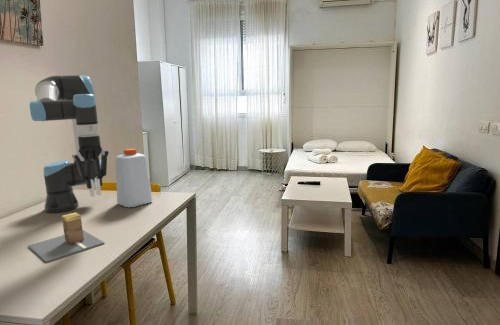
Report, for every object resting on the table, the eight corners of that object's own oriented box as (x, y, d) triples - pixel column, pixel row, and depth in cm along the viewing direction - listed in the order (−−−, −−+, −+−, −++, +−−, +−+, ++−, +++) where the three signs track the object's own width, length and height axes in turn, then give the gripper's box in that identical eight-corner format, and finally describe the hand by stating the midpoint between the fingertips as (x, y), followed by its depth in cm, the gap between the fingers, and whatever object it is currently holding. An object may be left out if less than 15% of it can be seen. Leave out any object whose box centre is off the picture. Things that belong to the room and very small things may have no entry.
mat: (28, 246, 135) (28, 244, 135) (82, 231, 149) (82, 229, 149) (46, 262, 121) (45, 260, 121) (104, 243, 135) (104, 241, 135)
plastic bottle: (141, 197, 196) (136, 146, 191) (155, 202, 186) (151, 148, 181) (114, 203, 186) (108, 150, 181) (128, 209, 176) (122, 152, 170)
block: (65, 240, 137) (61, 215, 135) (78, 236, 141) (75, 212, 139) (70, 244, 134) (66, 218, 132) (83, 240, 137) (80, 215, 135)
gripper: (72, 138, 129) (80, 201, 133) (112, 133, 139) (118, 192, 144) (64, 137, 134) (72, 198, 139) (103, 132, 144) (109, 189, 149)
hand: (95, 195), depth 141 cm, fingers closed
